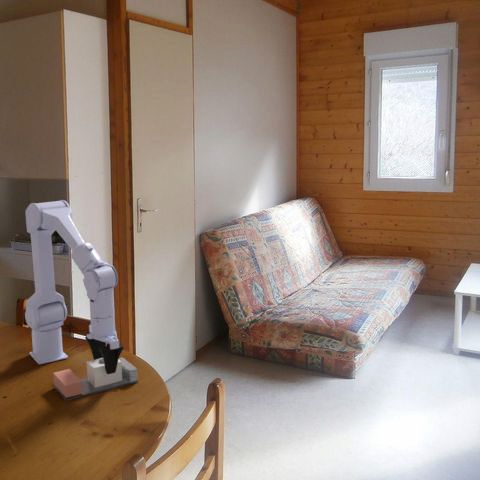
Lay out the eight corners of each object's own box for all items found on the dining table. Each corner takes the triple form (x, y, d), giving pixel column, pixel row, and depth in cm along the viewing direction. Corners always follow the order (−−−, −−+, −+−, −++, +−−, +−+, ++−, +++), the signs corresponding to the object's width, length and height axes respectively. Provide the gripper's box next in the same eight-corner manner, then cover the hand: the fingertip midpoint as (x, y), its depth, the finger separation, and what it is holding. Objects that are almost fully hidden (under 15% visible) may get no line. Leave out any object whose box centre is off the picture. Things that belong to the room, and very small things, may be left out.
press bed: (54, 387, 143) (53, 373, 142) (123, 370, 153) (122, 357, 152) (66, 401, 136) (65, 387, 135) (137, 382, 146) (137, 368, 145)
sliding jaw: (53, 384, 143) (53, 372, 142) (70, 380, 145) (69, 368, 145) (66, 397, 136) (65, 385, 135) (82, 393, 138) (82, 381, 137)
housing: (87, 380, 146) (86, 360, 145) (114, 373, 150) (113, 353, 149) (95, 387, 142) (93, 366, 141) (122, 380, 146) (121, 360, 144)
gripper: (76, 310, 146) (79, 361, 149) (97, 326, 135) (100, 382, 137) (103, 305, 150) (105, 355, 153) (126, 320, 138) (128, 374, 141)
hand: (105, 367), depth 145 cm, fingers open, 7 cm apart
